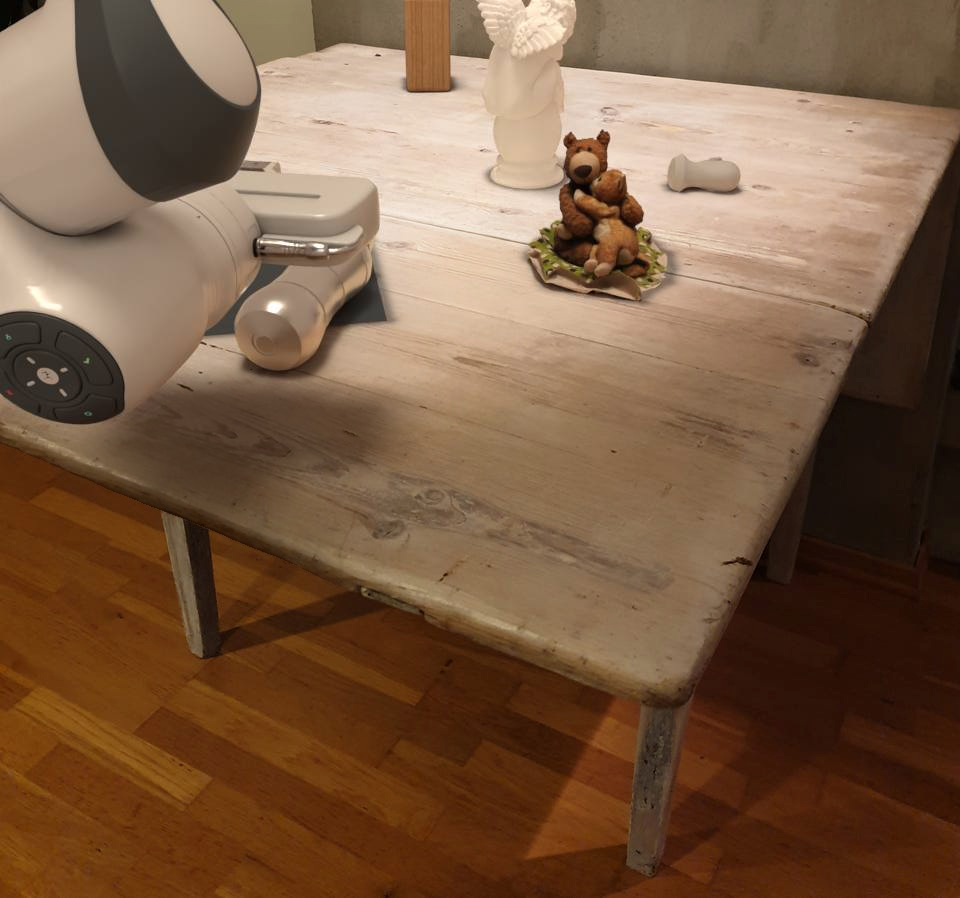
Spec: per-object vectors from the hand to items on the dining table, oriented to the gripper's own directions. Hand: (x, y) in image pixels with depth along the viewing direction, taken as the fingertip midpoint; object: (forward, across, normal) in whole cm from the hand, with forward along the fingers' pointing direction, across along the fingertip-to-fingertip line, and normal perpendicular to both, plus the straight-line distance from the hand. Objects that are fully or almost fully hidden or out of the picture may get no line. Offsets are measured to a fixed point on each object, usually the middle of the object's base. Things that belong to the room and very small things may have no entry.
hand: (261, 171), depth 70 cm
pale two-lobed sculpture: (+45, -34, +15) cm, 59 cm away
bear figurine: (+21, -24, +15) cm, 35 cm away
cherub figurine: (+43, -15, +15) cm, 48 cm away
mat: (+15, +6, +15) cm, 22 cm away
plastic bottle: (-4, 0, +12) cm, 13 cm away
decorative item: (+85, +6, +15) cm, 86 cm away
